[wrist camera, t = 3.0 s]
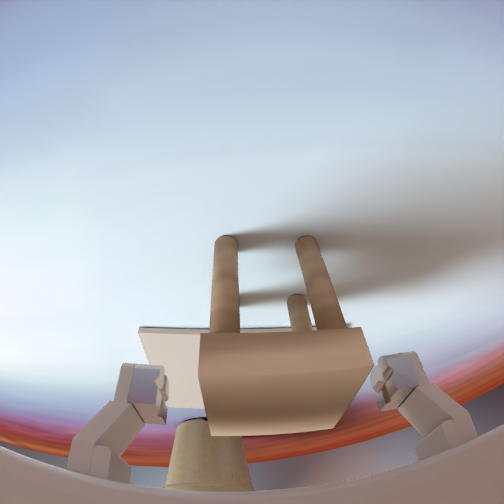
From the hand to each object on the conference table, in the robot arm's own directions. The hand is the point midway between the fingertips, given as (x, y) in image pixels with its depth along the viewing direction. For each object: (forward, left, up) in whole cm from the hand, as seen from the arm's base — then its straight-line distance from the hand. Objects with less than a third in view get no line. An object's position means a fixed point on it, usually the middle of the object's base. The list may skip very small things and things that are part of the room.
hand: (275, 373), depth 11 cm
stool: (0, 0, -5) cm, 5 cm away
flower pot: (+20, -4, -6) cm, 21 cm away
